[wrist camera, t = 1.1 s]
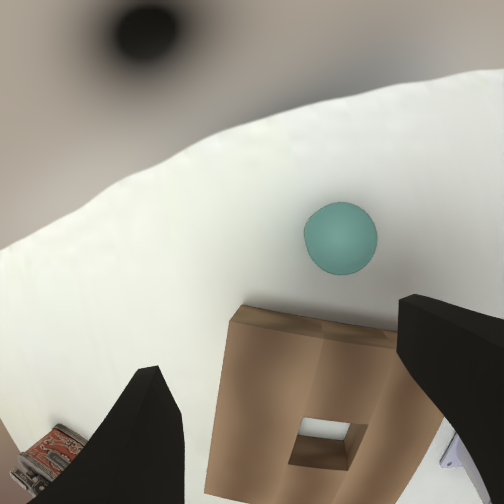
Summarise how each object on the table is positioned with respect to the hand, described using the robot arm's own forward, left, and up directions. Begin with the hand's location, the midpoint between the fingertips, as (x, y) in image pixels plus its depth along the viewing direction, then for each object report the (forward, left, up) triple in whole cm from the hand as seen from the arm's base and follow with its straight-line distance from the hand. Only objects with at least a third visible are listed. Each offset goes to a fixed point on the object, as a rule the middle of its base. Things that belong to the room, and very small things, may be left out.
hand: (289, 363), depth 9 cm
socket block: (-4, +10, -14) cm, 18 cm away
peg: (-1, -4, -14) cm, 14 cm away
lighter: (+19, +23, -14) cm, 33 cm away
